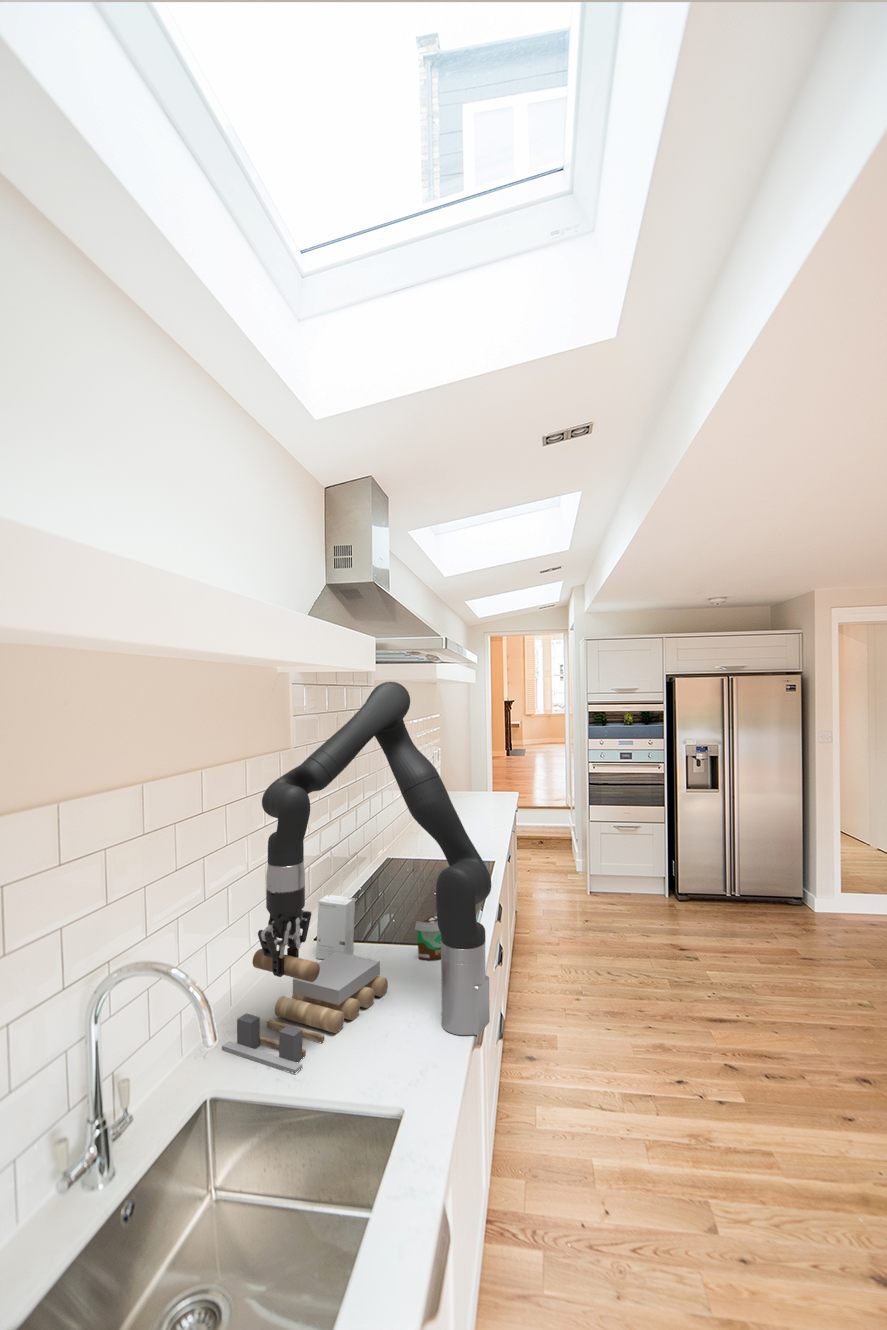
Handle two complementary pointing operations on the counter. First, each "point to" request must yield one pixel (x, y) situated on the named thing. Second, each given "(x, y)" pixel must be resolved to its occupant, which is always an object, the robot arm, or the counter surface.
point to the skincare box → (335, 926)
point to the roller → (289, 966)
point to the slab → (338, 978)
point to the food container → (429, 939)
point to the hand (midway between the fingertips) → (285, 971)
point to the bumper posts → (251, 1040)
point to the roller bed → (322, 1012)
